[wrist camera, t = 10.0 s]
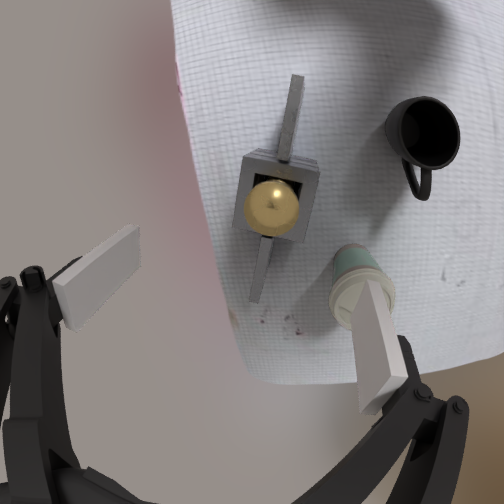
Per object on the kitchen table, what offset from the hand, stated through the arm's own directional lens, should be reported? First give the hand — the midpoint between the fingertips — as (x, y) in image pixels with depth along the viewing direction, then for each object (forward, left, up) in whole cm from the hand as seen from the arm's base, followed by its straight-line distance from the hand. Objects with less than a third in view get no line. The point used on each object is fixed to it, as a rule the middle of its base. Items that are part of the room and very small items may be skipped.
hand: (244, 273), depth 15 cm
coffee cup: (+10, +13, -26) cm, 30 cm away
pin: (0, 0, -25) cm, 25 cm away
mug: (-10, +15, -26) cm, 31 cm away
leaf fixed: (+5, 0, -26) cm, 26 cm away
